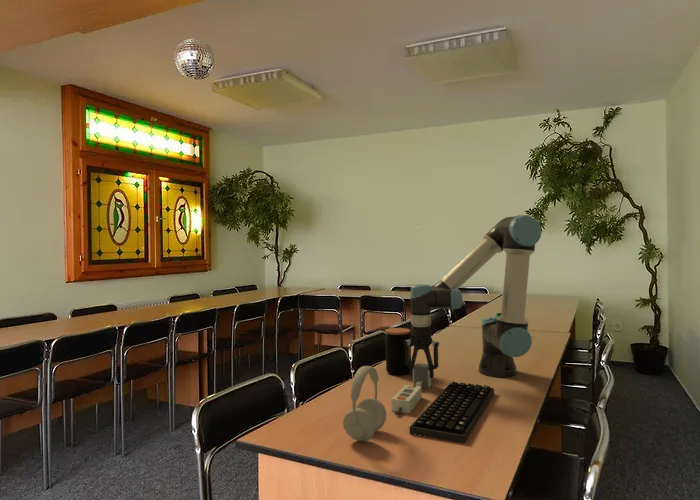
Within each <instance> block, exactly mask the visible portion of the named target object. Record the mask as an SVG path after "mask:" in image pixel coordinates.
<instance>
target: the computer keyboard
mask: <svg viewBox="0 0 700 500" xmlns="http://www.w3.org/2000/svg"><path fill="white" fill-rule="evenodd" d="M494 395H495V388H494V387H491V386H489V385H486V384H485V385H480V384H472V383H464V382H460V383H459V382H456V381H451V383H449V384H448V385H447V386H446V387H445V388H444V389H443V390H442V391H441V393H440V394H439V395H438V396H436V398H435V399H434V400H433V401H432V402H431V403H430V404H429V405H428V407H427V408H426V409H425V410H424V411H423V412H422V413H421V414H420V415H419V416H418V417H417V418H416V419H415V420H414V421H413V422H412V423H411V425H409V435H412V434H416V435H415V436H418V435H421V436H420V437H423V436H426V437H425V438H429V437H431V439H435V438H437V439H436V440H442V441H446V440H447V442H453V443H459V444H466V442H467V440H468V438H469V437H470V435H471V434H472V432H473V430H474V429H473V428H475V427H476V425H477V424H478V422H477V421H479V420H480V418H481V416H482V415H483V413H484V412H485V410H486V408H487V407H488V405H489V403H490V402H491V400H492V398H493V396H494ZM476 423H477V424H476ZM474 426H475V427H474ZM471 431H472V432H471ZM470 433H471V434H470Z"/></svg>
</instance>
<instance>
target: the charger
mask: <svg viewBox="0 0 700 500" xmlns="http://www.w3.org/2000/svg"><path fill="white" fill-rule="evenodd" d="M428 369H429V366H428V363H418V362H417V363H415V366H414V386H413V387H414V388H415V387H416V386H421V389H428V388H429V387H428V373H427V370H428Z"/></svg>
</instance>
